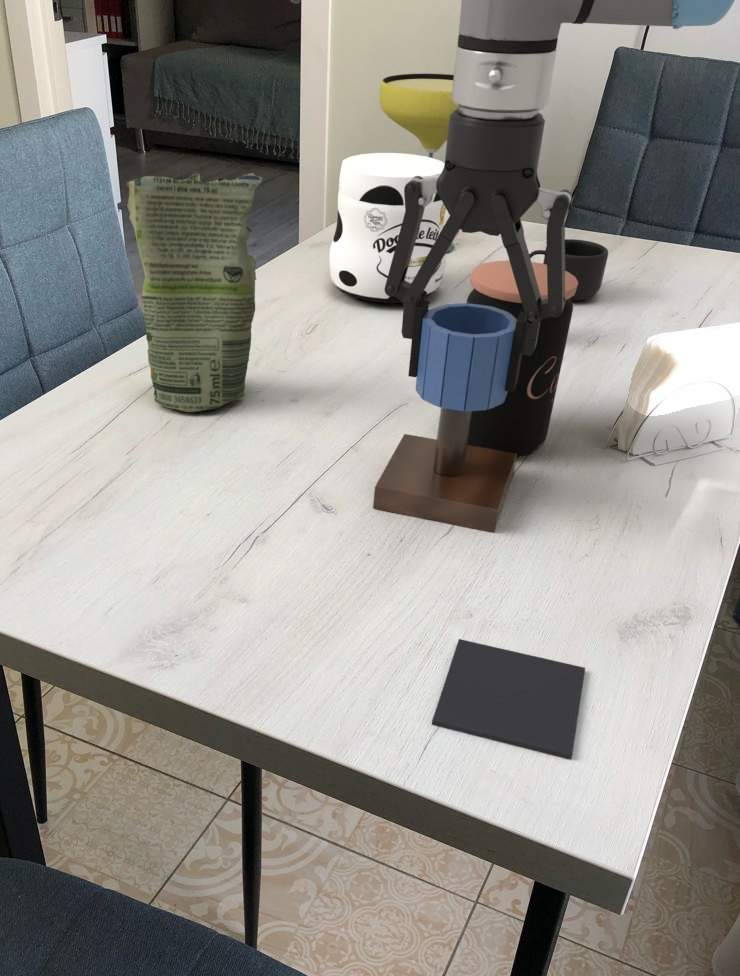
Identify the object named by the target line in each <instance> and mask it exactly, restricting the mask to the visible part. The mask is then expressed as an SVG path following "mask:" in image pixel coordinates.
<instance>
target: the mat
mask: <svg viewBox="0 0 740 976" xmlns="http://www.w3.org/2000/svg"><path fill="white" fill-rule="evenodd" d="M585 672H586V667H583V666H579V665H574V664H571V663H567V662H562V661H558V660H553V659H550V658H549V659H548V658H544V657H540V656H535V655H530V654H526V653H522V652H518V651H514V650H510V649H505V648H501V647H496V646H492V645H487V644H483V643H478V642H474V641H470V640H466V639H462V638H458V641H457V644H456V646H455V650H454V653H453V656H452V659H451V662H450V665H449V668H448V671H447V674H446V678H445V681H444V683H443V687H442V689H441V692H440V695H439V699H438V701H437V705H436V707H435V711H434V713H433V717H432V720H431V725H434V726H438V727H442V728H446V729H450V730H454V731H458V732H461V733H466V734H470V735H474V736H478V737H481V738H485V739H489V740H493V741H497V742H501V743H505V744H509V745H513V746H517V747H521V748H525V749H529V750H533V751H537V752H539V753H544V754H549V755H552V756H557V757H560V758H564V759H568V760H571V759H572V757H573V752H574V747H575V746H574V745H575V739H576V731H577V726H578V718H579V712H580V705H581V699H582V691H583V685H584V679H585Z"/></svg>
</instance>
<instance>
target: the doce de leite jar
mask: <svg viewBox="0 0 740 976" xmlns="http://www.w3.org/2000/svg"><path fill="white" fill-rule="evenodd" d="M444 165H445V162H444V161H442V160H440V159H437V158H430V157H429V156H425V155H419V154H413V153H403V152H402V153H400V152H371V153H361V154H356V155H351V156H348V157H346V158H345V159H343V160H342V162H341V167H340V173H339V180H338V193H337V216H336V217H337V221H336V227H335V232H334V235H333V238H332V242H331V244H330V249H329V255H328V267H329V274H330V279H331V282H332V284H333V285H334V286H335V287H336V288H337V289H338V290H339V291H340V292H341V293H344V294H346V295H347V296H350V297H352V298H356V299H360V300H363V301H368V302H376V303H384V304H385V303H387V304H388V303H398V304H399V303H401V304H402V301H401V300H400V299H398V298H396V297H394V296H392V297H391V296H388V295H387V294H386V293H385V285H386V281H387V277H388V274H389V270H390V266H391V263H392V259H393V255H394V252H395V248H396V244H397V240H398V237H399V233H400V229H401V226H402V222H403V218H404V215H405V196H404V187H405V185H406V184H407V183H408V182H409V181H410V180H411V179H412V178H413V177H415V176H421V177H422V178H423V179H430V178H438V177H439V176H440V174H441V173H442V171H443V168H444ZM446 211H447V209H446V207H445V205H444V204H443V202H442V200H441V198H440V196H439V194H438V193H434V194H433V197H432V200H431V202H430V203H429V204H428V205H427V206H426V207H425V209H424V213H423V217H422V221H421V224H420V228H419V231H418V235H417V238H416V242H415V245H414V249H413V252H412V256H411V259H410V263H409V266H408V270H407V274H406V277H405V281H407V282H409V283H412V281H413V280H414V278H415V276H416V274H417V273H418V271H419V269H420V267H421V266H422V264H423V262H424V261H425V259H426V257H427V255H428V254H429V252H430V250H431V248H432V247H433V245H434V243H435V241H436V240H437V238H438V236H439V234H440V232H441V230H442V229H443V227H444V225H445V216H446ZM446 264H447V253H446V254H445V255H444V257H443V259H442V261H441V262H440V264H439V266H438V267H437V269H436V271H435V272H434V274H433V276H432V278H431V279H430V281H429V283H428V284H427V286H426V288H425V289H424V291H423V293H422V295H421V299H425V298H427V297H429V296H430V295H432V294H433V293H435V292H436V291H437V290H438V288H439V287H440V285H441V284H442V281H443V277H444V274H445V269H446Z"/></svg>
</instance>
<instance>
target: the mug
mask: <svg viewBox="0 0 740 976" xmlns="http://www.w3.org/2000/svg"><path fill="white" fill-rule="evenodd" d="M545 246H546V247H545V250H544V249H537V250H532V251H531V252H530V253H529V256H530V259H532V258H533V257H534V256H538V255H542V256H543V262H542V264H546V265H547V245H545ZM608 258H609V249H608V248H607V247H605V246H604V245H602V244H600V243H597V242H594V241H589V240H584V239H575V238H573V239H572V238H565V271H567V272H569V273H570V274H572V275H573V276H575V278H576V279H577V281H578V286H577V289H576V292H575V295H574V296H572V297H571V299H570V301H571V302H581V301H585V300H587V299H592V298H593V297H595V296H596V295H597V294H598V292H599V291H600V290H601V288H602V285H603V280H604V275H605V271H606V266H607V261H608Z"/></svg>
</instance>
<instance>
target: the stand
mask: <svg viewBox="0 0 740 976" xmlns="http://www.w3.org/2000/svg"><path fill="white" fill-rule="evenodd" d="M439 412H440V413H439V418H438V420H439V422H438V428H437V436H436V438H430V437H425V436H418V435H413V434H407V433H404V434H403V435H402V438H401V439H400V441H399V443H398V444H397V446H396V448H395V450H394V452H393V454H392V456H391V457H390V459H389V461H388V463H387V465H385V468H384V470H383V471H382V473H381V475H380V477H379V479H378V481H377V482H376V484H375V486H374V490H373V505H372V509H374V510H378V511H379V510H380V511H385V512H390V513H395V514H401V515H405V516H408V517H409V516H410V517H415V518H420V519H425V520H430V521H434V522H440V523H445V524H451V525H456V526H461V527H466V528H470V529H474V530H475V529H476V530H481V531H485V532H490V533H495V531H496V529H497V525H498V523H499V520H500V516H501V514H502V510H503V507H504V504H505V501H506V499H507V495H508V492H509V489H510V486H511V482H512V479H513V476H514V473H515V467H516V463H517V458H518V457H517V454H516V453H511V452H505V451H499V450H494V449H488V448H482V447H476V446H471V445H467V444H468V437H469V430H470V423H471V417H472V411H468V412H465V411H457V410H451V409H444V408H441V407H440V411H439ZM516 457H517V458H516Z"/></svg>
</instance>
